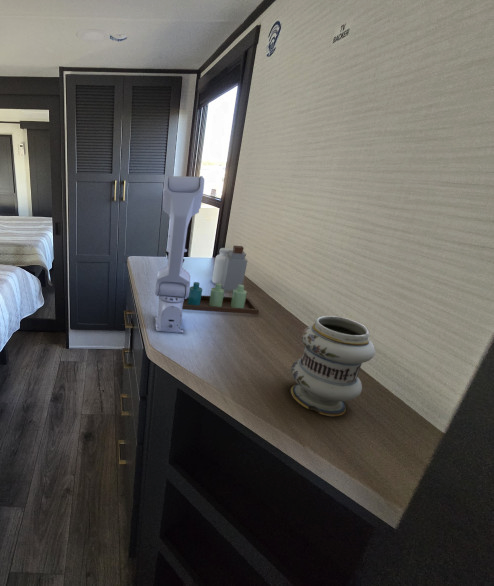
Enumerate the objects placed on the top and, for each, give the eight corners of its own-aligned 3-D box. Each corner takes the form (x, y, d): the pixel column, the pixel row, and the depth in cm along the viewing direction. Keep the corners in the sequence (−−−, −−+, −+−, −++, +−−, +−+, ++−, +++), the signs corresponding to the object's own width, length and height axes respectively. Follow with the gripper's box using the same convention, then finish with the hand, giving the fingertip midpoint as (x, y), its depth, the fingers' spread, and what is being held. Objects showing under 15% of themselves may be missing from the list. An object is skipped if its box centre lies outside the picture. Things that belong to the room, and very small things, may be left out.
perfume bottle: (241, 293, 125) (249, 249, 118) (223, 291, 126) (230, 248, 119) (237, 287, 131) (245, 245, 124) (221, 286, 132) (228, 244, 125)
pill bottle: (207, 281, 138) (212, 247, 132) (221, 279, 141) (226, 246, 135) (221, 286, 131) (226, 252, 126) (235, 284, 134) (241, 250, 129)
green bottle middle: (223, 308, 108) (226, 286, 106) (210, 307, 109) (213, 286, 106) (220, 303, 112) (223, 282, 110) (207, 302, 113) (210, 281, 110)
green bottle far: (245, 309, 108) (249, 288, 105) (232, 308, 108) (236, 287, 105) (241, 304, 112) (245, 283, 109) (229, 303, 112) (232, 283, 109)
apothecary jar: (282, 404, 65) (304, 327, 58) (287, 375, 74) (307, 306, 68) (354, 430, 59) (388, 347, 52) (350, 395, 68) (378, 321, 61)
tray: (257, 316, 105) (258, 310, 104) (179, 311, 107) (180, 305, 107) (247, 303, 115) (248, 298, 114) (176, 299, 117) (177, 293, 116)
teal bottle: (201, 306, 109) (204, 285, 106) (188, 306, 110) (191, 284, 107) (199, 302, 113) (201, 281, 110) (186, 301, 114) (189, 280, 111)
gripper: (191, 241, 100) (186, 281, 105) (185, 233, 114) (181, 268, 119) (169, 240, 101) (165, 279, 106) (166, 232, 115) (163, 267, 120)
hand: (172, 274), depth 113 cm, fingers open, 7 cm apart
